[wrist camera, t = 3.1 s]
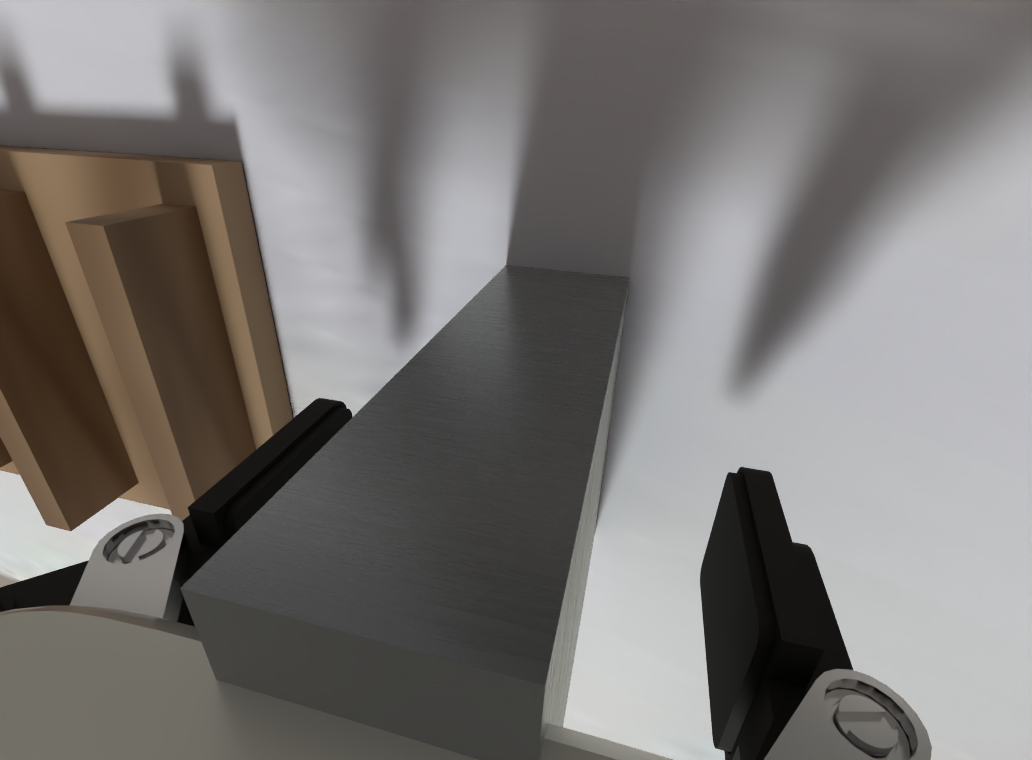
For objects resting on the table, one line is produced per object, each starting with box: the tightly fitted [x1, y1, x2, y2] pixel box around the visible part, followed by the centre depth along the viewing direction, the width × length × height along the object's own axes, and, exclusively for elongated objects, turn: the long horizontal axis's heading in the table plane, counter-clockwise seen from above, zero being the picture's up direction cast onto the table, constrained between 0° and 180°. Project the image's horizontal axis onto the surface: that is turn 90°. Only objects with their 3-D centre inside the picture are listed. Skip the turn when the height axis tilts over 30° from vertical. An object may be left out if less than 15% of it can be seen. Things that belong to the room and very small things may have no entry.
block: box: [180, 266, 630, 760], centre depth 10 cm, size 3×8×10 cm, turn 178°
